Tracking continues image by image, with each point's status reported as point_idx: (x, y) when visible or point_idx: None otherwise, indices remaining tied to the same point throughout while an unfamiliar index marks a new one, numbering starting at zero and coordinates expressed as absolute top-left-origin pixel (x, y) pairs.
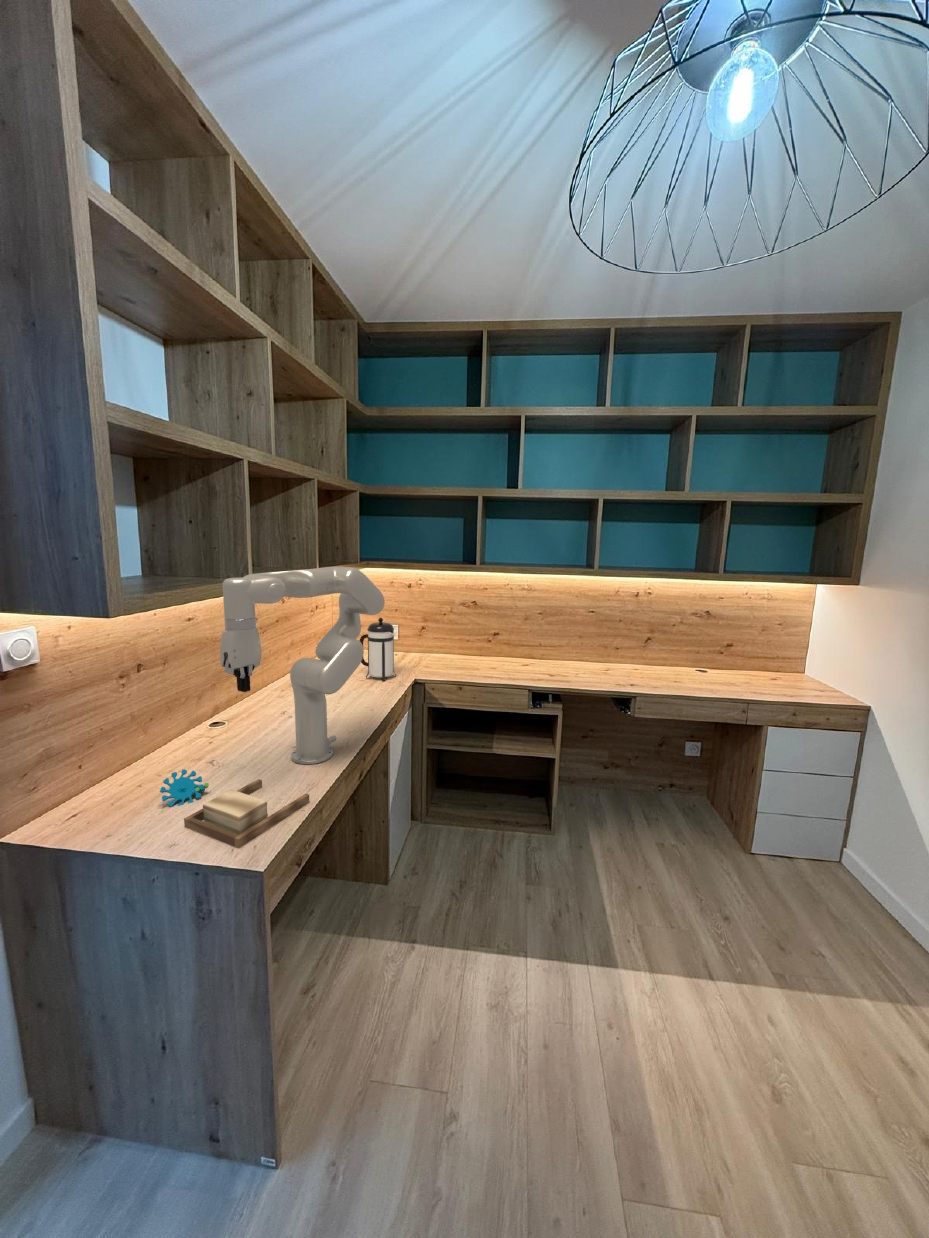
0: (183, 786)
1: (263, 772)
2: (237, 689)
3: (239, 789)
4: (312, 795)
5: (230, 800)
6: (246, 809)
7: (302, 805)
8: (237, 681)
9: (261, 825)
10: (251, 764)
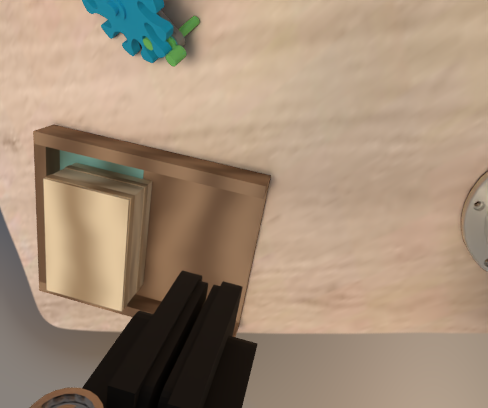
0: (113, 11)
1: (377, 121)
2: (181, 271)
3: (195, 170)
4: (281, 316)
5: (86, 231)
6: (75, 288)
7: None
8: (100, 371)
9: (94, 305)
10: (434, 34)
